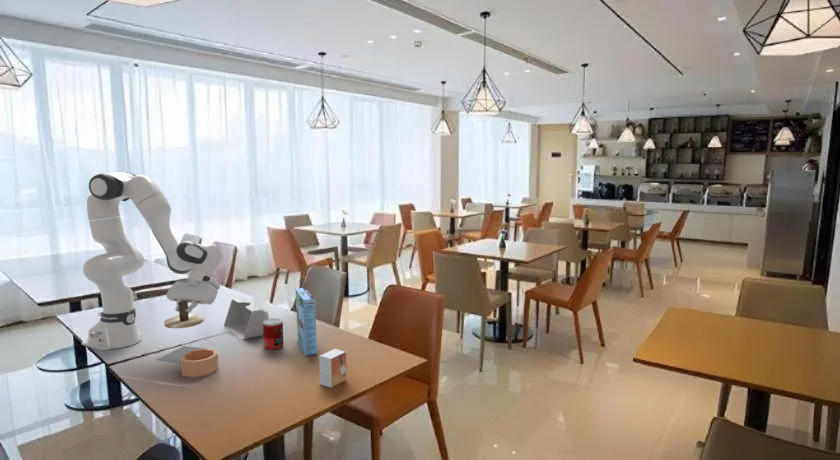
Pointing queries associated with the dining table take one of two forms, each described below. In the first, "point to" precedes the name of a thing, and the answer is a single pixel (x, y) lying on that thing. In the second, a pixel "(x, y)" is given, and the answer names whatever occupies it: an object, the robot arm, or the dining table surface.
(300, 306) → the blue cereal box
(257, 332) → the grey open bin
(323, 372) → the small box
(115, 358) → the dining table surface
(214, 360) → the bowl
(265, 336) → the canned food
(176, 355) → the mat
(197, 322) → the lid
